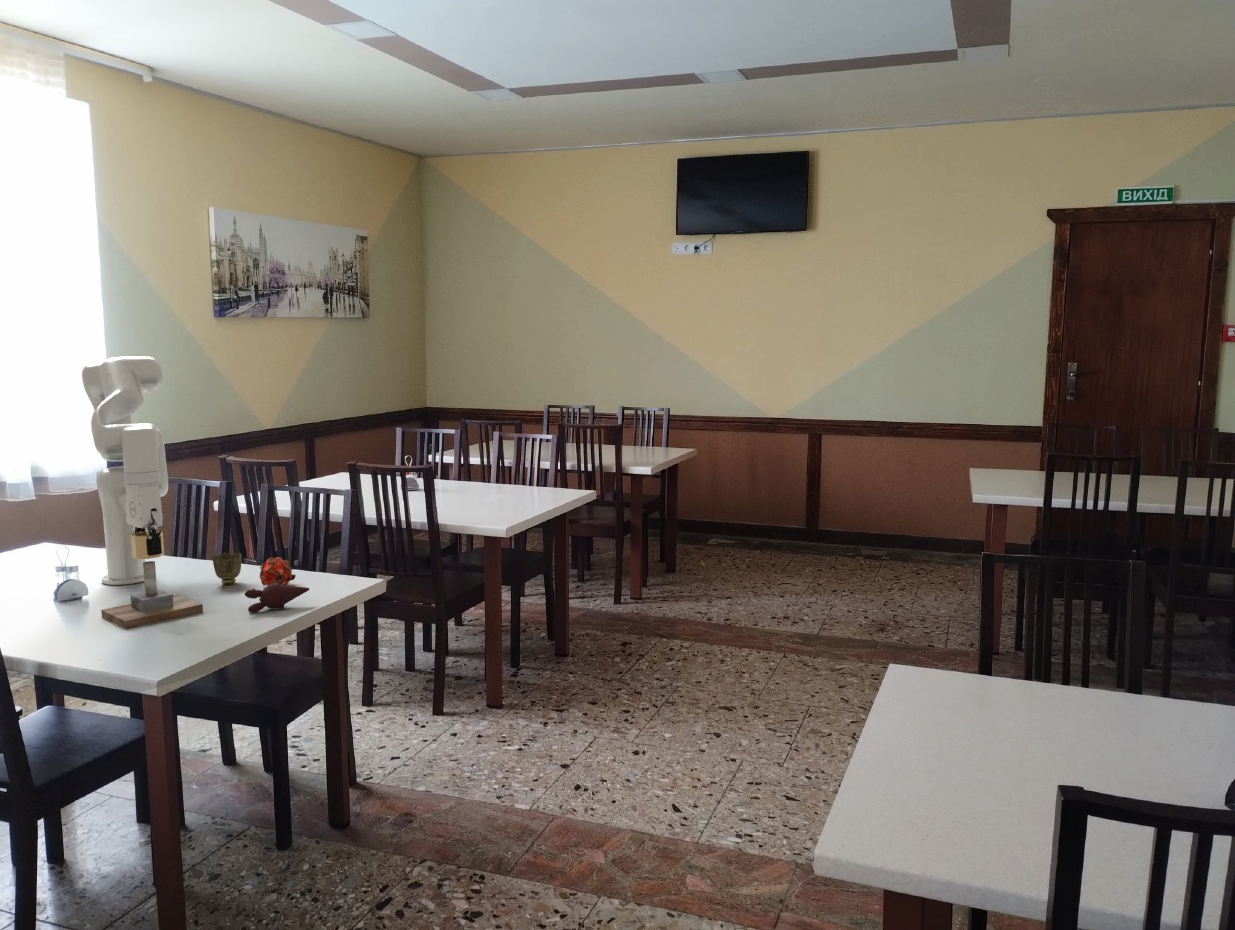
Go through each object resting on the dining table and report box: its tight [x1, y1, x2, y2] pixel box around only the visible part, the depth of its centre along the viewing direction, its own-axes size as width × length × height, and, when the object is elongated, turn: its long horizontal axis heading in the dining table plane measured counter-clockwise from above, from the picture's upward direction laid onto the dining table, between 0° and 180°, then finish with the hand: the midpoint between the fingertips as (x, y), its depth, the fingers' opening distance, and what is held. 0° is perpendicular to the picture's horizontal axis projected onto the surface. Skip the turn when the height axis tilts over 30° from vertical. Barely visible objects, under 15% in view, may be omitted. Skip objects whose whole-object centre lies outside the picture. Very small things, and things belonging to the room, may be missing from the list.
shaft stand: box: [100, 560, 204, 630], centre depth 228 cm, size 14×18×13 cm
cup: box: [211, 552, 243, 586], centre depth 257 cm, size 8×7×8 cm
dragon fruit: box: [259, 557, 296, 587], centre depth 254 cm, size 8×8×12 cm
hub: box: [130, 530, 165, 560], centre depth 227 cm, size 6×6×6 cm
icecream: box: [244, 581, 310, 614], centre depth 234 cm, size 7×7×15 cm
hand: (148, 551), depth 227 cm, fingers closed on hub, 6 cm apart
